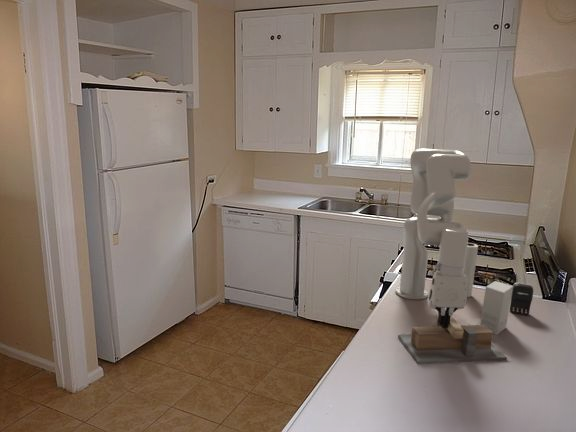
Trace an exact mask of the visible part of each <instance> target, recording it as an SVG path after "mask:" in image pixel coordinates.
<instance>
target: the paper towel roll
mask: <svg viewBox="0 0 576 432" xmlns="http://www.w3.org/2000/svg"><path fill="white" fill-rule="evenodd" d="M478 248H479V245H478V244H476V243H474V242H473V243H472V242H468V244H467V252H466V259H465V267H464V274H465V275H466V278H467V298H470V297H472V295H473V288H474V287H473V286H474V280H475V273H476V272H475V271H476V266H477V257H478V251H479V249H478Z"/></svg>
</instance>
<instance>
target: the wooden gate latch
mask: <svg viewBox="0 0 576 432" xmlns="http://www.w3.org/2000/svg"><path fill="white" fill-rule="evenodd" d="M460 326H461V328H462V329H463V336H462V339H459V338H454V337H453V336H452V335H451V333H450V332H449V331H448V329H447V328H442V327H441V325H440V324H439V323H438V318H437V319H436V325H434V326H433V325H432V326H429V325H428V326H412V328H411V333H407V334H405V333H402V334H398V336H397V338H398V339H399V340H400V341H401V343H402V345H403V346H404V347H405V348H406V350H407V351H408V353H409V354H410V355H411V357H412V358H413V359H414V361H415V362H416V363H417V364H437V363H438V364H439V363H440V364H442V363H464V362H466V363H467V362H469V363H470V362H471V363H472V362H495V361H507V359H508V356H506V355H505V354H504V353H503V352H502V351H501V350H499V349H498V347H496V346H495V345H494V344H493V343H492V341H493V336H494V333H493V332H492V331H491V330H490V329H489V328H487V327H486V326H485V325H480V324H472V325H471V324H469V325H467V324H466V325H460Z"/></svg>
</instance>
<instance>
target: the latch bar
mask: <svg viewBox="0 0 576 432" xmlns="http://www.w3.org/2000/svg"><path fill="white" fill-rule="evenodd" d="M445 310H446V308H445ZM437 319H439V312H438V311H437ZM461 326H462V325H460V324H459V323H458V322H457V320H456V319H455V318H454V316H453V315H452V316H451V317H450V324H449V325H448V328H447V329H448V331H449V332H450V333H451V335H452V336H453V337H454V338H459V339H462V336H463V329H462V328H461Z"/></svg>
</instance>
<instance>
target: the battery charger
mask: <svg viewBox="0 0 576 432" xmlns="http://www.w3.org/2000/svg"><path fill="white" fill-rule="evenodd" d="M512 286H513V289H512V295H511V301H510V307H509V312H510V313H512V314H516V315H522V316H529V315H530V310H531V305H532V302H533V297H534V296H533V295H534V287H533V285H532V284H528V283H523V282H515V283H514V284H513V285H512Z"/></svg>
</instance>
